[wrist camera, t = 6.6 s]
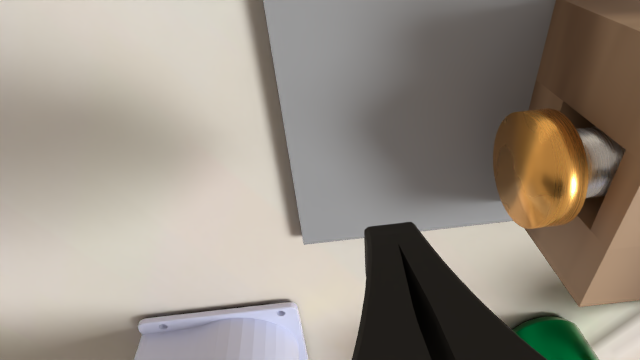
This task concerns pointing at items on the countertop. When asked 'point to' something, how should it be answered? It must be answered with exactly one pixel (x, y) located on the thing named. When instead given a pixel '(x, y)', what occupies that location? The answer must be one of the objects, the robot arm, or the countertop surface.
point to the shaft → (550, 166)
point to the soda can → (555, 339)
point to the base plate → (400, 106)
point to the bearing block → (615, 121)
